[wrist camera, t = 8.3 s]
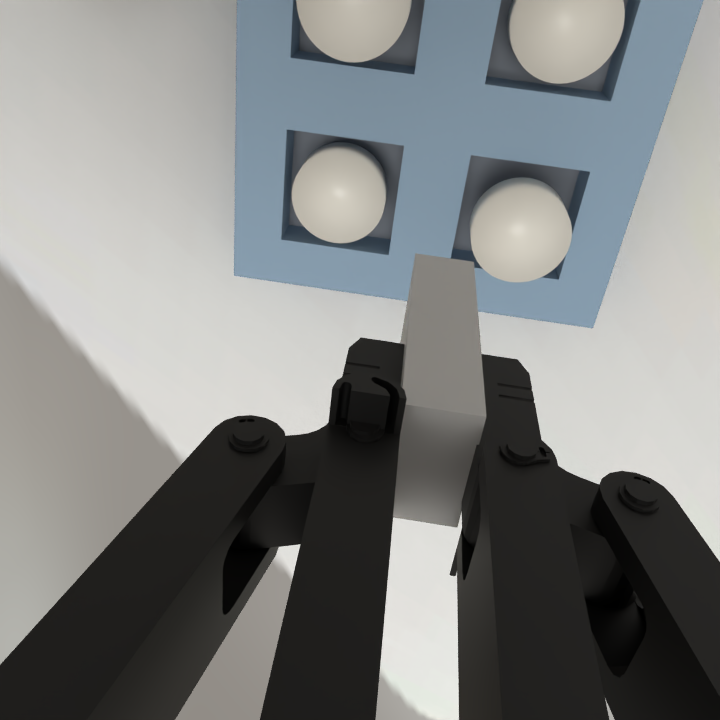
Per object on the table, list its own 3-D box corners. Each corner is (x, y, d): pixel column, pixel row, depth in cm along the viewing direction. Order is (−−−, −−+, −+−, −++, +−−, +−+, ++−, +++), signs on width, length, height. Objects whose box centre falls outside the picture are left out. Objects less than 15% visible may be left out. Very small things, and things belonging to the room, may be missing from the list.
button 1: (303, 133, 39) (294, 145, 37) (393, 145, 39) (390, 159, 37) (297, 219, 42) (289, 236, 40) (382, 231, 42) (378, 249, 40)
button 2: (479, 167, 37) (481, 182, 35) (575, 180, 37) (584, 197, 35) (461, 255, 40) (462, 274, 38) (550, 268, 40) (557, 288, 38)
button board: (255, -167, 33) (239, -175, 30) (717, -108, 32) (740, -112, 30) (245, 256, 45) (233, 275, 42) (584, 305, 44) (592, 328, 42)
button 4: (519, -48, 33) (525, -46, 31) (626, -34, 33) (640, -31, 31) (496, 66, 36) (499, 75, 34) (595, 80, 36) (605, 90, 34)
